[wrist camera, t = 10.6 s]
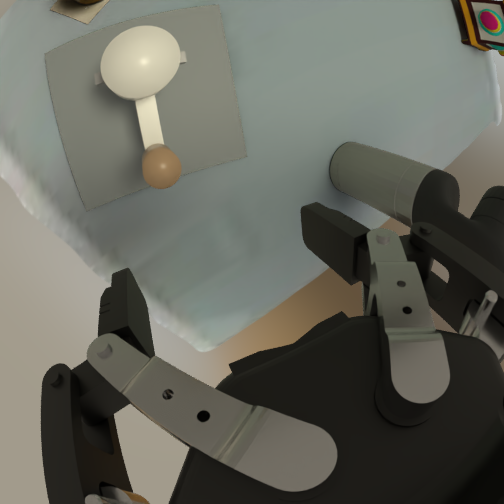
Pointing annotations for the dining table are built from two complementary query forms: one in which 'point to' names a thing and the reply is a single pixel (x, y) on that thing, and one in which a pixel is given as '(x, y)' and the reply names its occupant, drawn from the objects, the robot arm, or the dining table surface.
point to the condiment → (79, 8)
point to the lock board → (125, 112)
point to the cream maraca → (145, 91)
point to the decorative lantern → (484, 24)
